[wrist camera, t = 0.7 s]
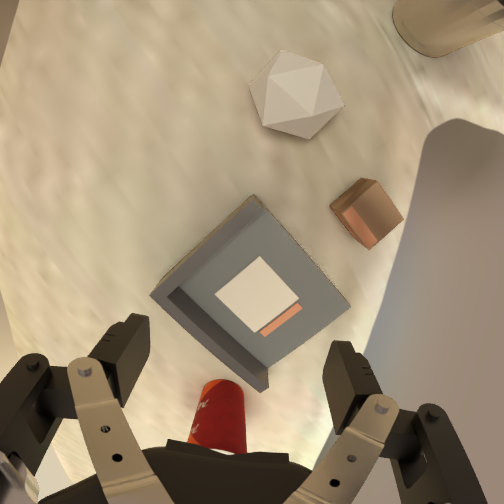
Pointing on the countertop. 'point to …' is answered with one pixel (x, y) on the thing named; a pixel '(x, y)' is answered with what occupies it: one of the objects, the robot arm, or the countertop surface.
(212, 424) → the coffee cup
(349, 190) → the walnut block
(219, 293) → the board
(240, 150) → the countertop surface
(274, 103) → the die
